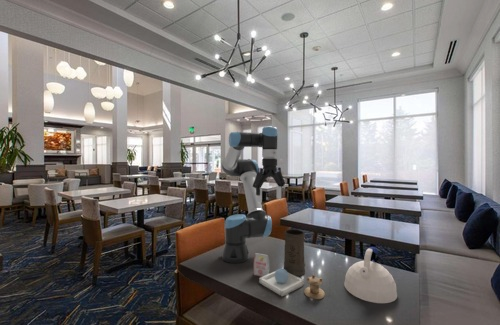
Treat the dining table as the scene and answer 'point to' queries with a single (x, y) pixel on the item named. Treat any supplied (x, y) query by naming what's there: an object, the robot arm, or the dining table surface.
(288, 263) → the beer stein
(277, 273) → the ball
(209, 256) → the dining table surface
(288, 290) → the tray
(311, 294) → the stand
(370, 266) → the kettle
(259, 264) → the white cardboard box
